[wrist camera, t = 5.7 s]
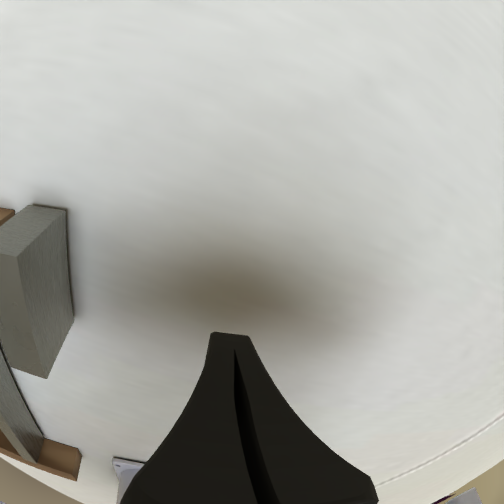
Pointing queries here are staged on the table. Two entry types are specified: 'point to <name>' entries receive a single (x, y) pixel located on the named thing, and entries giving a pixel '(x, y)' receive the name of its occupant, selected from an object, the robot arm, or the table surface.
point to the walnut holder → (52, 453)
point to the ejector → (31, 312)
